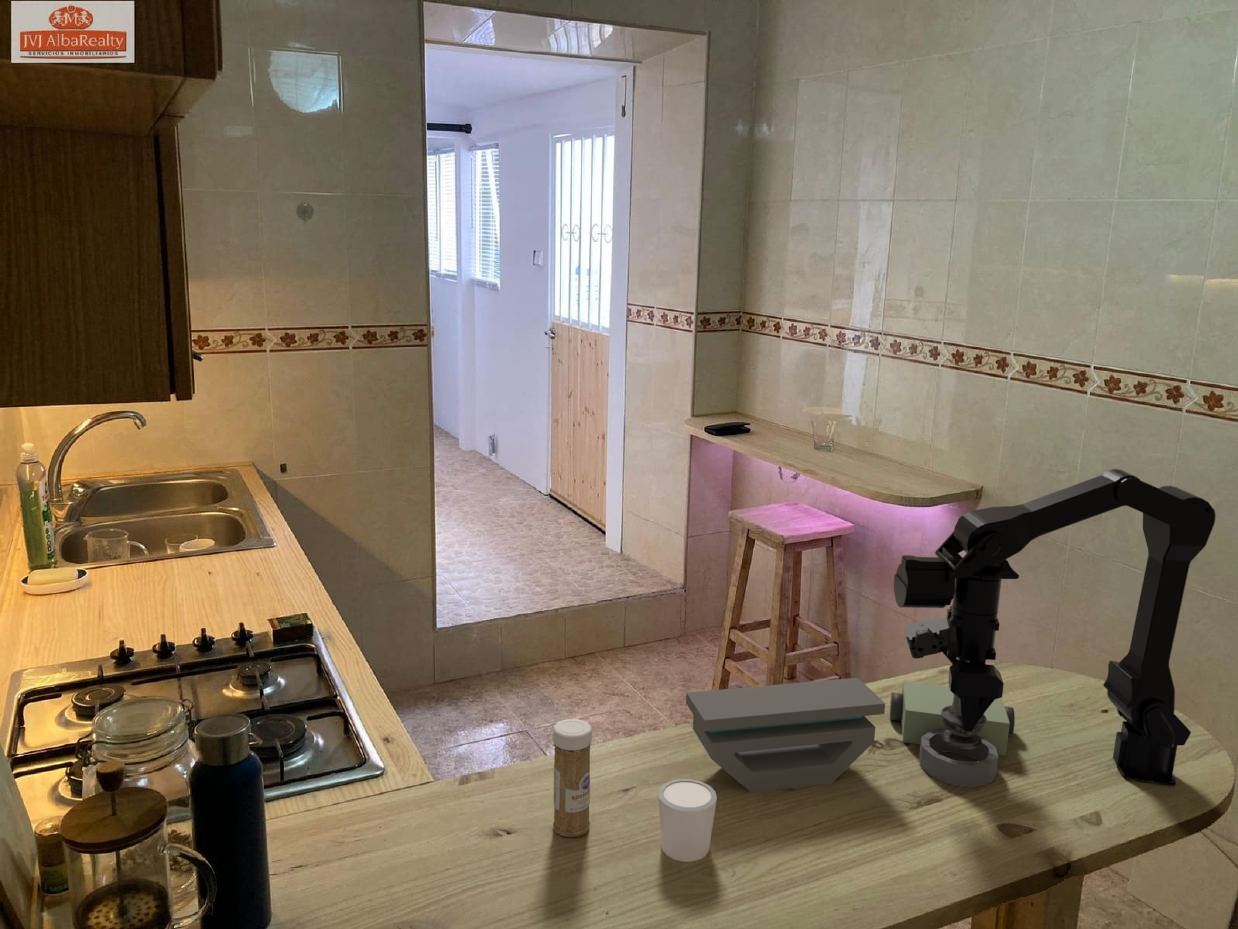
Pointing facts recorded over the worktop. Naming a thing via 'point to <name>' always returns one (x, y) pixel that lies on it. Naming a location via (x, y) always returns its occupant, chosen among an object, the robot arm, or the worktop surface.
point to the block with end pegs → (926, 725)
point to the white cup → (686, 818)
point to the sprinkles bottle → (572, 777)
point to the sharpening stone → (786, 730)
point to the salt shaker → (959, 728)
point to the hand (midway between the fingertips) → (963, 715)
